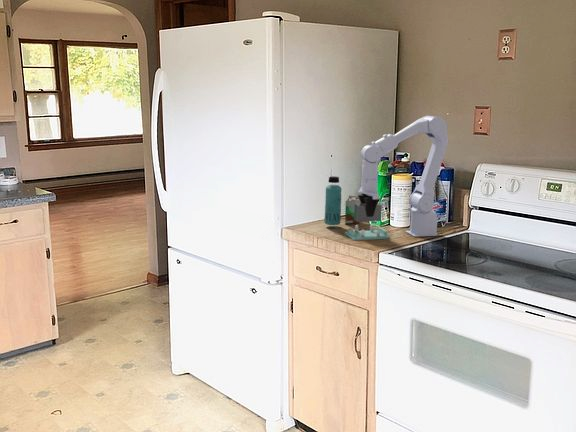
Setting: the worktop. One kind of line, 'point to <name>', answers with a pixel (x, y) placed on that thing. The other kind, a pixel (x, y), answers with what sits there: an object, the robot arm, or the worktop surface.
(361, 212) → the dark grey block
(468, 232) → the worktop surface
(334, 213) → the beverage bottle
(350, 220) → the food container
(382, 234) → the tray
